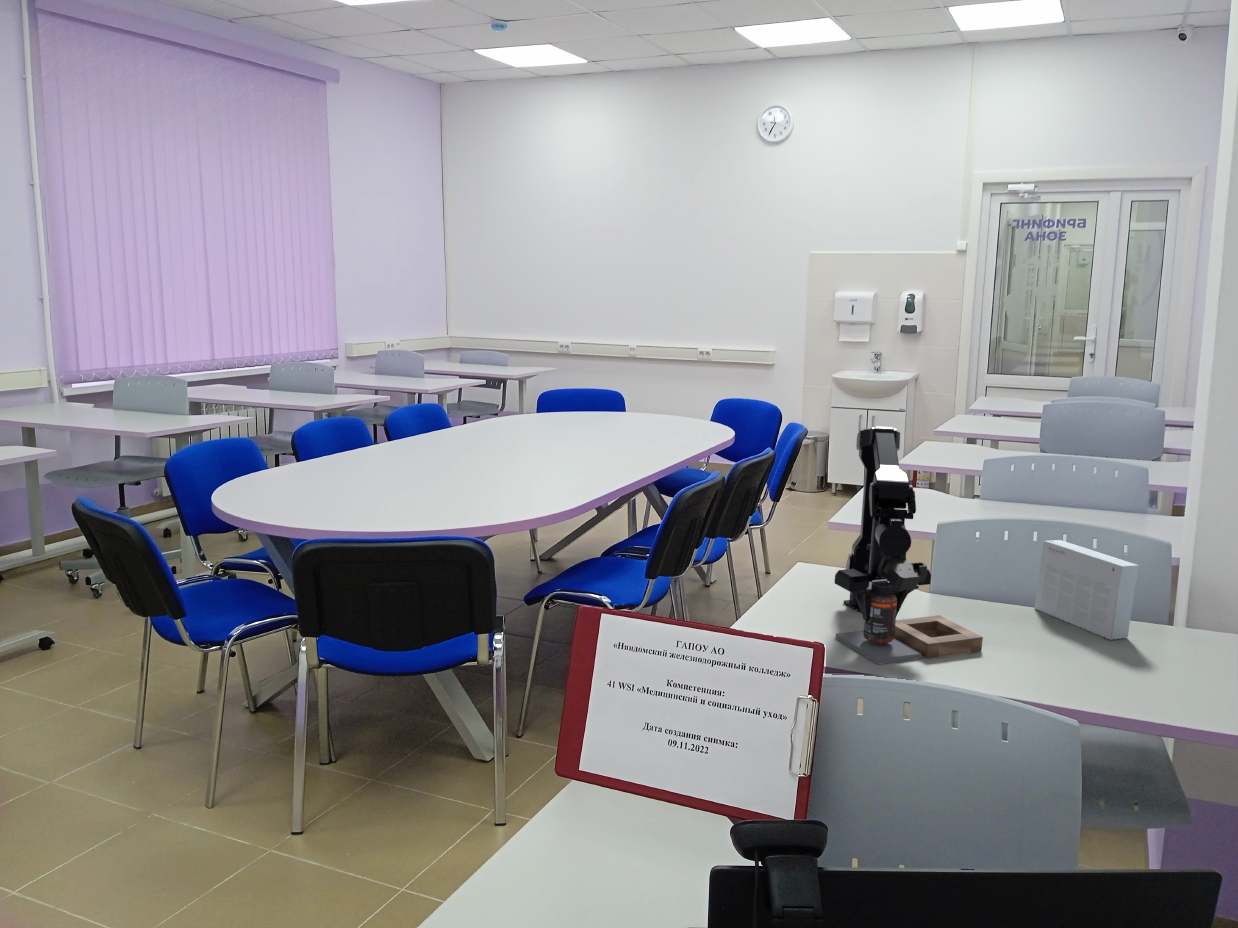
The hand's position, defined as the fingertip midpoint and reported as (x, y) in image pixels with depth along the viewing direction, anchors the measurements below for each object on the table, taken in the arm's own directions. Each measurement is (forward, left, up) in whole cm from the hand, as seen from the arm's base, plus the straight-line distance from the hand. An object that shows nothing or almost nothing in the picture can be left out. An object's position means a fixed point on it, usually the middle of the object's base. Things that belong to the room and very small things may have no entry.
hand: (879, 619), depth 191 cm
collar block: (+1, +12, -6) cm, 14 cm away
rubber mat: (0, 0, -6) cm, 6 cm away
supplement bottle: (0, 0, -4) cm, 4 cm away
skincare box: (0, +52, -6) cm, 52 cm away
